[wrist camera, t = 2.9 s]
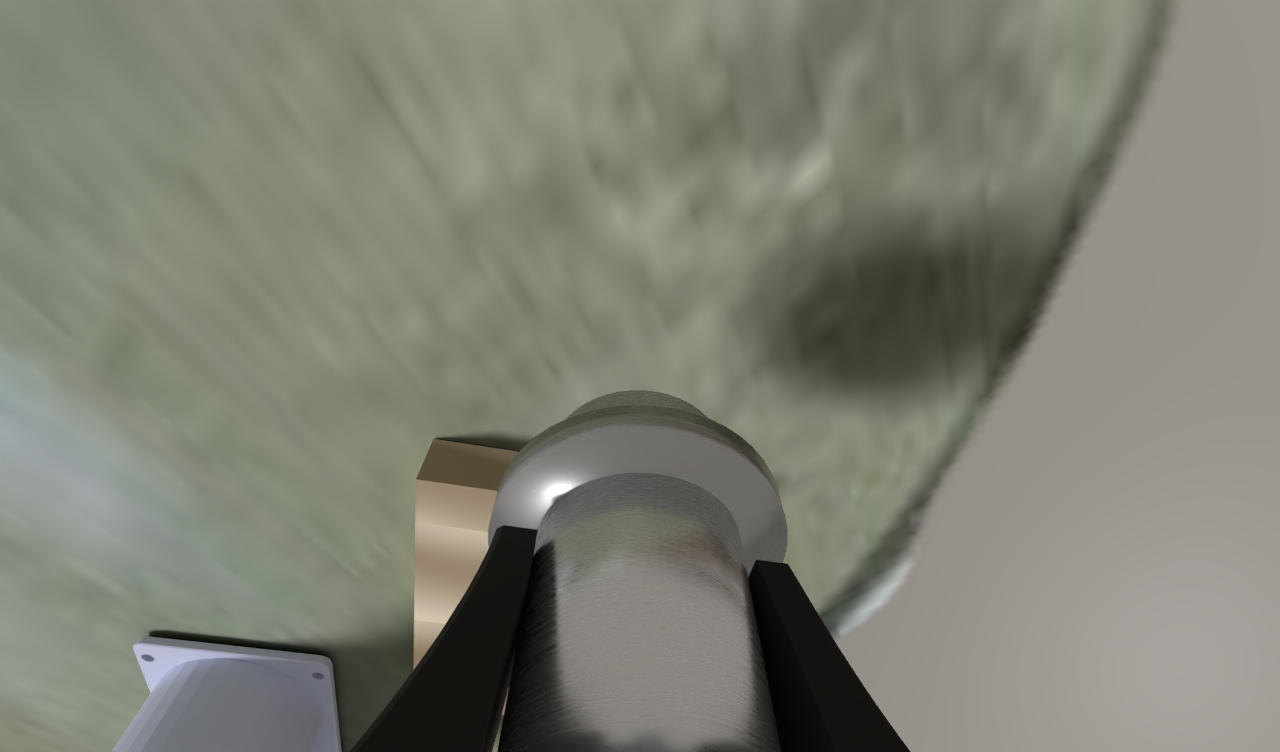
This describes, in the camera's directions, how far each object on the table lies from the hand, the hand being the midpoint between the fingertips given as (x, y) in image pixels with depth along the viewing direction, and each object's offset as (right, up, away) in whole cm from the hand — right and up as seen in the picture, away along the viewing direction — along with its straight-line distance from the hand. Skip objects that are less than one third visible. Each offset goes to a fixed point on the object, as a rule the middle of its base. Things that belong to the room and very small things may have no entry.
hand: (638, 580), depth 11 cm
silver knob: (0, +2, +3) cm, 3 cm away
